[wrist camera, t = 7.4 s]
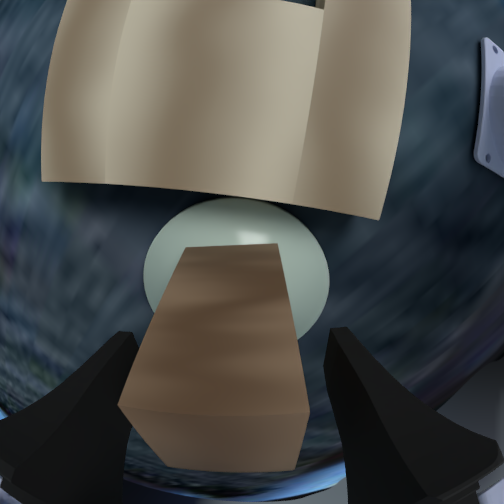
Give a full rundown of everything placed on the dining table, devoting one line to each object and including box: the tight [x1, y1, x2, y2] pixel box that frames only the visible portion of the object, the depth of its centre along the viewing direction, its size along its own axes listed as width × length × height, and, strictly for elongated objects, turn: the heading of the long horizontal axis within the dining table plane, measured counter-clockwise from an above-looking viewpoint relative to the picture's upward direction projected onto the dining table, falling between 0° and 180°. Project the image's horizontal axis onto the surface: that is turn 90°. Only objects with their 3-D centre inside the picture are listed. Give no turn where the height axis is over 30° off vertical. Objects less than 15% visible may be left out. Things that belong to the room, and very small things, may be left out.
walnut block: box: [118, 243, 310, 472], centre depth 9 cm, size 4×4×8 cm
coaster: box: [144, 196, 329, 340], centre depth 13 cm, size 9×9×1 cm
